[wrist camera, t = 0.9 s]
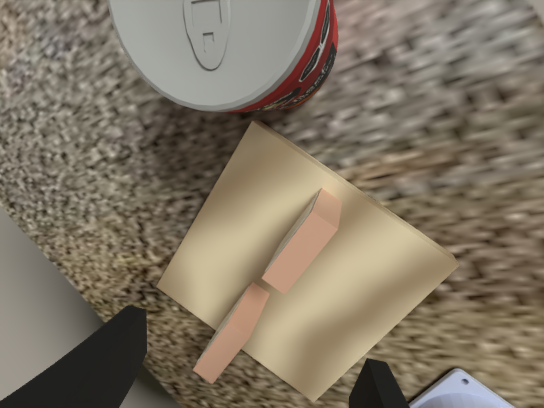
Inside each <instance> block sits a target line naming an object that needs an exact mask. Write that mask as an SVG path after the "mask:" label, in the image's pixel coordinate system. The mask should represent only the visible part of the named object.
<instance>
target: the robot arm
mask: <svg viewBox="0 0 544 408" xmlns="http://www.w3.org/2000/svg"><path fill="white" fill-rule="evenodd" d="M146 353H147V321H146V309H142V308H137V307H133V306H126V307H125V308H124V309H122V310H121V311H120V312H119V313H118V314H116V315H115V316H114V317H113V318H111V319H110V320H109V321H108V322H107V323H105V324H104V325H103V326H102V327H101V328H99V329H98V330H97V331H96V332H94V333H93V334H92V335H91V336H90V337H88V338H87V339H86V340H84V341H83V342H82V343H80V344H79V345H78V346H77V347H75V348H74V349H73V350H72V351H70V352H69V353H68V354H66V355H65V356H64V357H62V358H61V359H60V360H58V361H57V362H56V363H55V364H53V365H52V366H50V367H49V368H47V369H46V370H45V371H43V372H42V373H40V374H39V375H38V376H36V377H35V378H33V379H32V380H30V381H29V382H28V383H26V384H25V385H23V386H22V387H21V388H19V389H18V390H16V391H15V392H13V393H12V394H11V395H9V396H7V397H6V398H4V399H3V400H1V401H0V408H119V407H120V405H121V403H122V402H123V400H124V398H125V396H126V395H127V393H128V391H129V389H130V388H131V386H132V384H133V382H134V380H135V378H136V375H137V373H138V371H139V369H140V367H141V364H142V362H143V360H144V358H145V355H146ZM462 379H466V380H465V381H463V380H462ZM349 408H515V407H514V406H512V405H511V404H509V403H508V402H507V401H505V400H504V399H502V398H501V397H500V396H498V395H497V394H495V393H494V392H493V391H491V390H490V389H488V388H487V387H486V386H484V385H483V384H481V383H480V382H479V381H477V380H476V379H474V378H473V377H472V376H470V375H469V374H467V373H466V372H465V371H463V370H461V369H453V370H451V371H450V372H449V373H448V374H446V375H445V376H444V377H443V378H441V379H440V380H439V381H437V382H436V383H435V384H434V385H432V386H431V387H430V388H428V389H427V390H426V391H425V392H423V393H422V394H421V395H420V396H418V397H417V398H416V399H414V400H413V401H412V402H411V403H409V404H408V403H407V401H406V399H405V397H404V395H403V393H402V391H401V389H400V387H399V385H398V383H397V382H396V380H395V378H394V376H393V374H392V372H391V370H390V368H389V366H388V364H387V363H386V362H383V361H378V360H373V359H369V358H367V359H366V361H365V364H364V366H363V368H362V370H361V372H360V375H359V377H358V379H357V381H356V383H355V385H354V388H353V390H352V392H351V394H350V396H349Z"/></svg>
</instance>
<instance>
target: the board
mask: <svg viewBox="0 0 544 408" xmlns="http://www.w3.org/2000/svg"><path fill="white" fill-rule="evenodd" d="M322 188H323V189H324V190H325V191H327V192H328V193H330V194H331V195H333V196H334V197H335V198H337V199H338V200H340V201H341V202H342V206H341V213H340V220H339V226H338V230H337V231H336V233H335V234H334V235H333V236H332V237H331V239H330V240H329V241H328V242H327V244H326V245H325V246H324V247H323V249H322V250H321V251H320V252H319V253H318V255H317V256H316V257H315V258H314V260H313V261H312V262H311V263H310V264H309V266H308V267H307V268H306V269H305V271H304V272H303V273H302V274H301V276H300V277H299V278H298V279H297V280H296V282H295V283H294V284H293V285H292V287H291V288H290V289H289V290H288V292H287V293H286V294H285V295H284V294H283V293H281V292H280V291H278V290H277V289H276V288H274V287H273V286H271V285H270V284H269V283H267V282H266V281H265V280H263V279H262V277H263V275H264V273H265V270H266V268H267V267H268V265H269V263H270V261H271V259H272V258H273V256H274V254H275V252H276V250H277V249H278V247H279V245H280V243H281V242H282V240H283V239H284V237H285V236H286V235H287V233H288V232H289V231H290V229H291V228H292V227H293V225H294V224H295V223H296V221H297V220H298V219H299V217H300V216H301V214H302V213H303V212H304V210H305V209H306V208H307V206H308V205H309V204H310V202H311V201H312V200H313V198H314V197H315V196H316V194H317V193H319V191H320V190H321V189H322ZM458 266H459V264H458V262H457V261H456V259H455V258H454V256H453V254H451V253H450V252H448V251H447V250H445V249H444V248H443V247H441V246H440V245H438V244H437V243H435V242H434V241H432V240H431V239H430V238H428V237H427V236H425V235H424V234H422V233H421V232H420V231H418V230H417V229H415V228H414V227H412V226H411V225H409V224H408V223H407V222H405V221H404V220H402V219H401V218H399V217H398V216H397V215H395V214H394V213H392V212H391V211H389V210H388V209H386V208H385V207H384V206H382V205H381V204H379V203H378V202H376V201H375V200H374V199H372V198H371V197H369V196H368V195H366V194H365V193H363V192H362V191H361V190H359V189H358V188H356V187H355V186H353V185H352V184H351V183H349V182H348V181H346V180H345V179H343V178H342V177H340V176H339V175H338V174H336V173H335V172H333V171H332V170H330V169H329V168H328V167H326V166H325V165H323V164H322V163H320V162H319V161H317V160H316V159H315V158H313V157H312V156H310V155H309V154H307V153H306V152H304V151H303V150H302V149H300V148H299V147H297V146H296V145H294V144H293V143H292V142H290V141H289V140H287V139H286V138H284V137H283V136H281V135H280V134H279V133H277V132H276V131H274V130H273V129H271V128H270V127H269V126H267V125H266V124H264V123H263V122H261V121H260V120H255V121H252V122H251V124H250V126H249V127H248V129H247V131H246V132H245V134H244V136H243V138H242V139H241V141H240V143H239V145H238V146H237V148H236V150H235V151H234V153H233V155H232V157H231V158H230V160H229V162H228V164H227V165H226V167H225V169H224V170H223V172H222V174H221V176H220V177H219V179H218V181H217V182H216V184H215V186H214V188H213V189H212V191H211V193H210V195H209V196H208V198H207V200H206V201H205V203H204V205H203V207H202V208H201V210H200V212H199V213H198V215H197V217H196V219H195V220H194V222H193V224H192V226H191V227H190V229H189V231H188V232H187V234H186V236H185V238H184V239H183V241H182V243H181V245H180V246H179V248H178V250H177V251H176V253H175V255H174V257H173V258H172V260H171V262H170V263H169V265H168V267H167V269H166V270H165V272H164V274H163V276H162V277H161V279H160V281H159V282H158V284H157V286H156V287H157V288H159V289H160V290H161V291H163V292H164V293H166V294H167V295H168V296H170V297H171V298H172V299H174V300H175V301H176V302H178V303H179V304H181V305H182V306H183V307H185V308H186V309H187V310H189V311H190V312H191V313H193V314H194V315H196V316H197V317H198V318H200V319H201V320H202V321H204V322H205V323H206V324H208V325H209V326H211V327H212V328H213V329H215V330H216V331H217V329H218V327H219V326H220V324H221V323H222V321H223V320H224V319H225V317H226V316H227V315H228V313H229V312H230V311H231V309H232V308H233V306H234V305H235V304H236V302H237V301H238V300H239V298H240V297H241V296H242V294H243V293H244V292H245V290H246V289H247V288H248V286H250V284H251V283H252V282H254V283H255V284H257V285H258V286H260V287H261V288H262V289H264V290H265V291H267V292H268V293H269V294H270V295H269V297H268V299H267V301H266V303H265V306H264V308H263V310H262V312H261V314H260V316H259V319H258V321H257V323H256V325H255V327H254V329H253V332H252V334H251V336H250V338H249V339H248V341H247V342H246V343H245V344H244V346H243V347H242V348H241V349H242V350H243V351H245V352H246V353H247V354H249V355H250V356H251V357H253V358H254V359H255V360H257V361H258V362H260V363H261V364H262V365H264V366H265V367H266V368H268V369H269V370H270V371H272V372H273V373H275V374H276V375H277V376H279V377H280V378H281V379H283V380H284V381H285V382H287V383H288V384H290V385H291V386H292V387H294V388H295V389H296V390H298V391H299V392H300V393H302V394H303V395H305V396H306V397H307V398H309V399H310V400H311V401H313V402H314V401H315V400H317V399H318V398H319V397H320V396H321V395H322V394H323V393H324V392H325V391H326V390H327V389H328V388H329V387H330V386H331V385H332V384H334V383H335V382H336V381H337V380H338V379H339V378H340V377H341V376H342V375H343V374H344V373H345V372H346V371H347V370H348V369H350V368H351V367H352V366H353V365H354V364H355V363H356V362H357V361H358V360H359V359H360V358H361V357H362V356H363V355H364V354H366V353H367V352H368V351H369V350H370V349H371V348H372V347H373V346H374V345H375V344H376V343H377V342H378V341H379V340H380V339H381V338H383V337H384V336H385V335H386V334H387V333H388V332H389V331H390V330H391V329H392V328H393V327H394V326H395V325H396V324H397V323H399V322H400V321H401V320H402V319H403V318H404V317H405V316H406V315H407V314H408V313H409V312H410V311H411V310H412V309H413V308H414V307H416V306H417V305H418V304H419V303H420V302H421V301H422V300H423V299H424V298H425V297H426V296H427V295H428V294H429V293H430V292H432V291H433V290H434V289H435V288H436V287H437V286H438V285H439V284H440V283H441V282H442V281H443V280H444V279H445V278H446V277H448V276H449V275H450V274H451V273H452V272H453V271H454V270H455V269H456V268H457V267H458Z"/></svg>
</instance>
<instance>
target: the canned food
mask: <svg viewBox="0 0 544 408" xmlns="http://www.w3.org/2000/svg"><path fill="white" fill-rule="evenodd" d="M107 3H108V7H109V11H110V15H111V19H112V24H113V27H114V29H115V32H116V34H117V37H118V39H119V42H120V44H121V47H122V48H123V50H124V52H125V53H126V55H127V57H128V59H129V60H130V62H131V64H132V65H133V67H134V68H135V69H136V70H137V72H138V73H139V74H140V75H141V76H142V78H143V79H144V80H145V81H146V82H147V83H148V84H149V85H150V86H152V87H153V88H154V89H155V90H156V91H157V92H159V93H160V94H161V95H163V96H164V97H166V98H168V99H170V100H172V101H173V102H175V103H177V104H179V105H183V106H186V107H189V108H193V109H196V110H200V111H206V112H229V113H236V112H255V111H275V110H283V109H289V108H292V107H294V106H297V105H300V104H301V103H303V102H304V101H306V100H307V99H309V98H310V97H311V96H313V95H314V94H315V93H316V92H317V91H318V90H319V89H320V87H321V86H322V84H323V83H324V82H325V80H326V79H327V77H328V75H329V73H330V71H331V69H332V66H333V64H334V60H335V56H336V53H337V44H338V27H337V19H336V14H335V9H334V4H333V0H107Z"/></svg>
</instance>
